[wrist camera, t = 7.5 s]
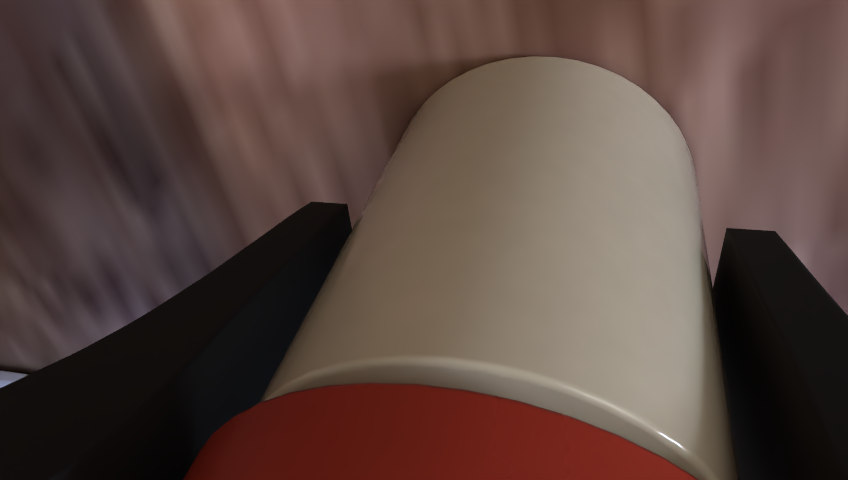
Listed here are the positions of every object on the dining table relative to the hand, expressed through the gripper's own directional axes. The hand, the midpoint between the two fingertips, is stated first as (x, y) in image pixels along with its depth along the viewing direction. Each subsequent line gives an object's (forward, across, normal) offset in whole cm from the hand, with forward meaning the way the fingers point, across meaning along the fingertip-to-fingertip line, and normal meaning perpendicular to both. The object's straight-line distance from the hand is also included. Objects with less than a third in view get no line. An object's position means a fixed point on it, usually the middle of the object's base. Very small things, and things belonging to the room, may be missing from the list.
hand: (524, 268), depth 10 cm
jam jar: (+2, 0, 0) cm, 2 cm away
